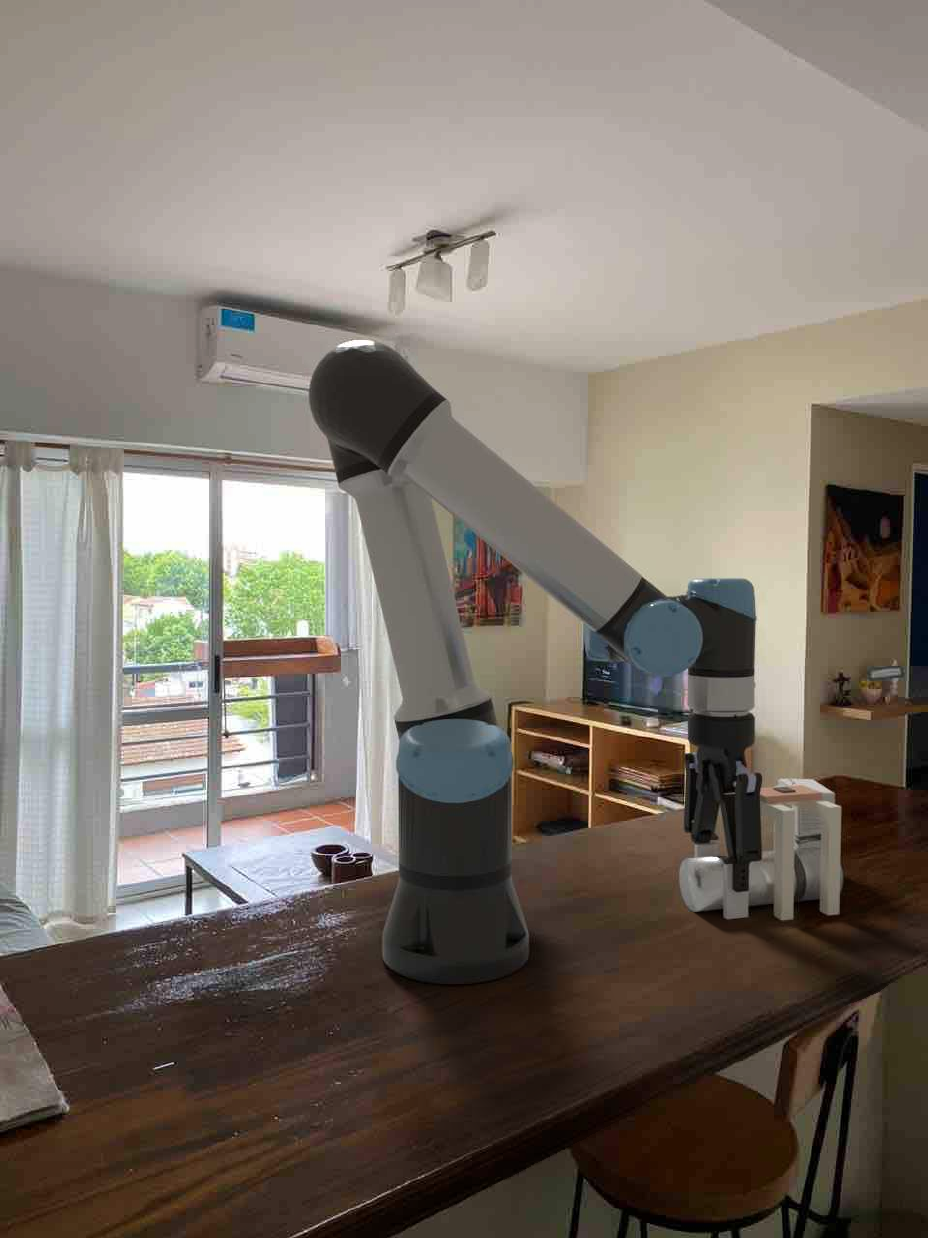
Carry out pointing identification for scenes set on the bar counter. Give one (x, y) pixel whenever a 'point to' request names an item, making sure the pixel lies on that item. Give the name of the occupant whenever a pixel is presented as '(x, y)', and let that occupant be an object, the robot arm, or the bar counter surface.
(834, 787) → the bar counter surface
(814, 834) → the ink box
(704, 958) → the bar counter surface
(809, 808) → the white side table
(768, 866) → the silver metal cylinder
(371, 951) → the bar counter surface
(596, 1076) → the bar counter surface
